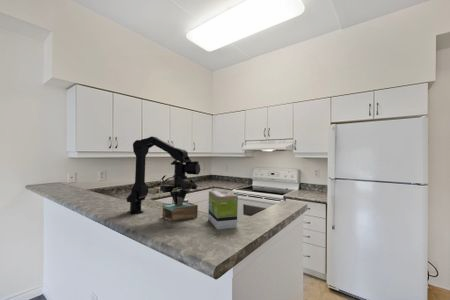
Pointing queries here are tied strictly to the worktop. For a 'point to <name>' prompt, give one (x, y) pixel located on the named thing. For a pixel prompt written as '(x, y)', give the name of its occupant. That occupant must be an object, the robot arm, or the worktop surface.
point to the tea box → (223, 209)
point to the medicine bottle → (179, 196)
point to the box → (181, 212)
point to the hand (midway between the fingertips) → (178, 204)
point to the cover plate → (170, 207)
